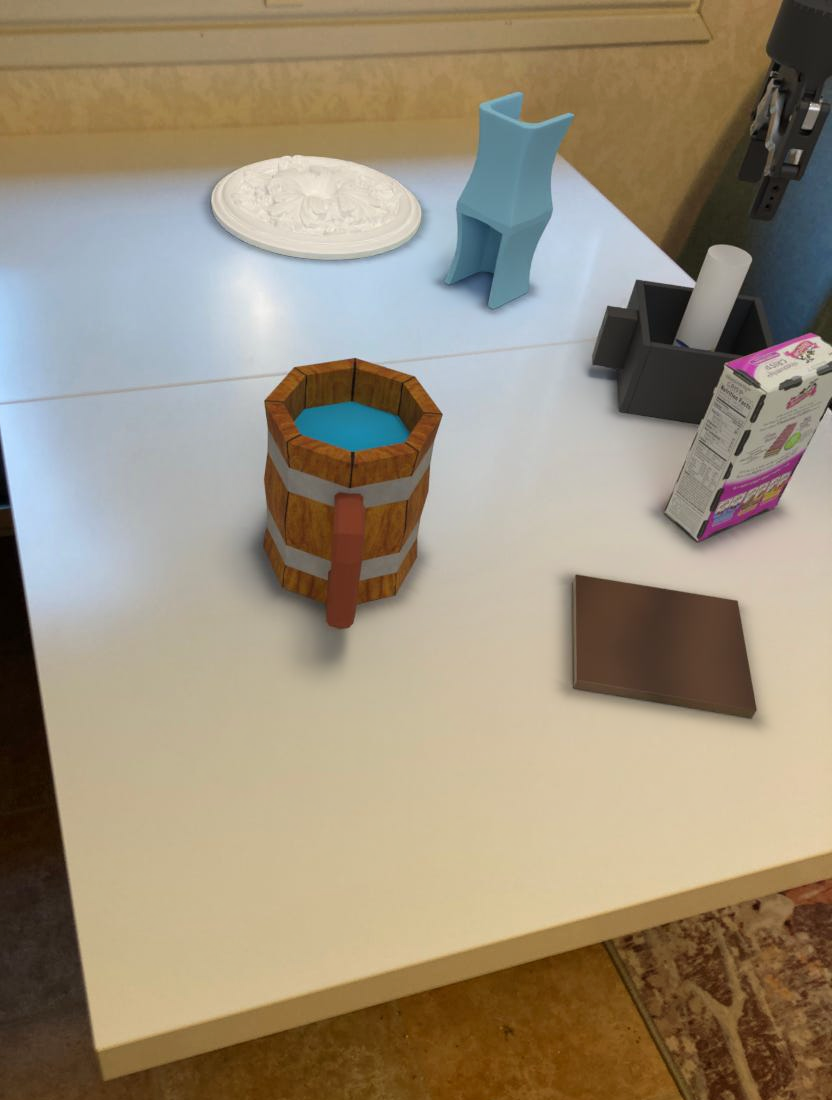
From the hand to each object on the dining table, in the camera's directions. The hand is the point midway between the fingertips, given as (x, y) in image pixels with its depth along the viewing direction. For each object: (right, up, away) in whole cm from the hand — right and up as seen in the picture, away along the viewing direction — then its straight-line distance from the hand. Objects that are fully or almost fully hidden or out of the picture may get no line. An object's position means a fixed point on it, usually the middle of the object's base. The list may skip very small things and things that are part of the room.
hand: (753, 198), depth 87 cm
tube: (-2, -14, +16) cm, 21 cm away
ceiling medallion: (-42, +16, +37) cm, 59 cm away
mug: (-39, -36, -8) cm, 54 cm away
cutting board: (-13, -42, -11) cm, 45 cm away
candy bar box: (-3, -29, +2) cm, 29 cm away
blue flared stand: (-21, +2, +27) cm, 34 cm away
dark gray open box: (-3, -13, +16) cm, 21 cm away
